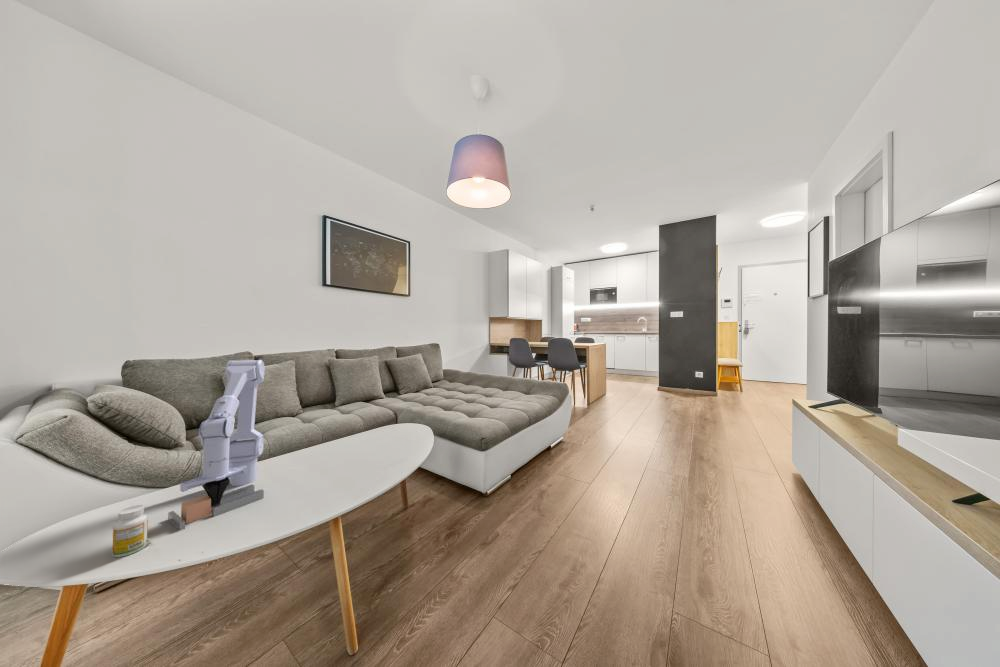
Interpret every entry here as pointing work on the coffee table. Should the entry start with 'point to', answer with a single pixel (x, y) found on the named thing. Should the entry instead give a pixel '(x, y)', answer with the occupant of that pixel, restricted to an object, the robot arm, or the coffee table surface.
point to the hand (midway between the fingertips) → (215, 506)
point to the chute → (224, 504)
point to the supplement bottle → (130, 531)
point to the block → (195, 508)
